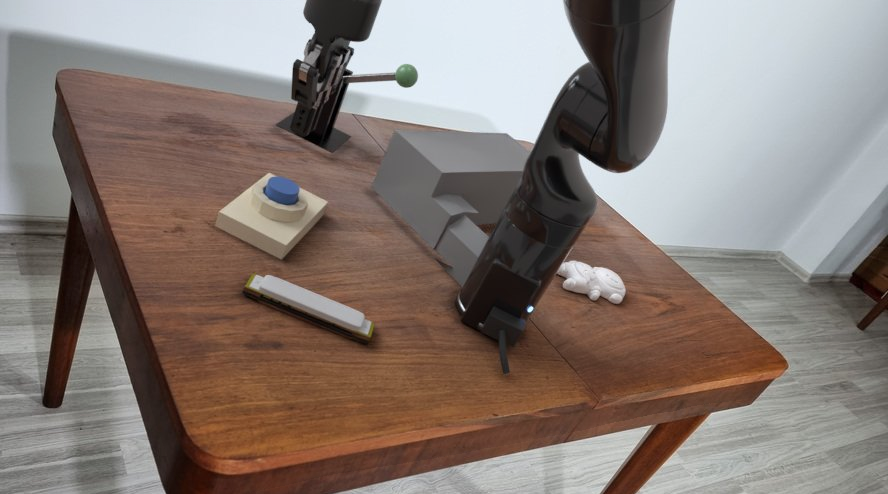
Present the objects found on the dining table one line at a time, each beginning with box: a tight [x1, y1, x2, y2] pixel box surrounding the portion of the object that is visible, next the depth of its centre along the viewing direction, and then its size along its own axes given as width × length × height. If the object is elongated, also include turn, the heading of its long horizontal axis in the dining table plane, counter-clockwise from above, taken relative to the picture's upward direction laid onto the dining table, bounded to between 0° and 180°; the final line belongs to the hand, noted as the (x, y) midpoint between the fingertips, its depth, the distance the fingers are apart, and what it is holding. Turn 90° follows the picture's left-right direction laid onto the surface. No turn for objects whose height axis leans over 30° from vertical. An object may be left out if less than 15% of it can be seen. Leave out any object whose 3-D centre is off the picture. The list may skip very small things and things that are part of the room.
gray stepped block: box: [371, 129, 531, 288], centre depth 105 cm, size 25×23×11 cm
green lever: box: [342, 63, 419, 89], centre depth 107 cm, size 15×3×3 cm, turn 73°
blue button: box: [265, 175, 300, 205], centre depth 88 cm, size 4×4×2 cm
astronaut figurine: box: [556, 260, 627, 305], centre depth 107 cm, size 9×12×3 cm
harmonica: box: [241, 272, 376, 345], centre depth 77 cm, size 15×3×2 cm, turn 80°
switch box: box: [214, 172, 329, 260], centre depth 89 cm, size 14×9×4 cm, turn 162°
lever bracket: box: [275, 68, 354, 154], centre depth 111 cm, size 10×9×12 cm
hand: (301, 130), depth 83 cm, fingers closed
